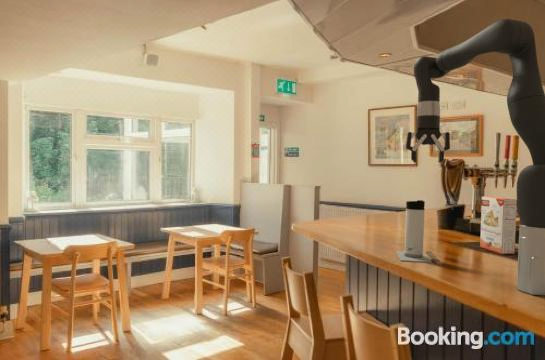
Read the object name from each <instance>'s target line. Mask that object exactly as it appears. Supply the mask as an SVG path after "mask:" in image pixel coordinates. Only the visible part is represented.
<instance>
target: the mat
mask: <svg viewBox="0 0 545 360" xmlns="http://www.w3.org/2000/svg"><path fill="white" fill-rule="evenodd" d="M395 253H396V255H397V256H398V259H399V260H400V262H412V263H424V264H425V263H427V264H432V263H433V262H432V261H433V260H432V259H430V258H429V257H428V256H427V255H428V254H427V253H426V252H423V257H421V258H412V257H407V256H405V255H404V250H401V251H399V250H398V251H397V250H396V252H395Z"/></svg>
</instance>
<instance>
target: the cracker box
mask: <svg viewBox="0 0 545 360" xmlns="http://www.w3.org/2000/svg"><path fill="white" fill-rule="evenodd" d="M480 213H481V214H480V240H479V242H480V244H479V247H480V248H482V249H485V250H488V251H491V252H494V253H497V254H500V255H515V254H516V234H517V232H516V230H517V229H516V228H517V198H514V199H513V198H508V197H507V198H506V197H500V196H491V195H490V196H489V195H485V196H481V212H480Z"/></svg>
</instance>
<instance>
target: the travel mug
mask: <svg viewBox="0 0 545 360" xmlns="http://www.w3.org/2000/svg"><path fill="white" fill-rule="evenodd" d="M425 203H426V202H425V201H424V200H421V199H420V200H419V199H417V200H413V201H412V200H411V201H410V200H407V201H406V204H405V223H404V224H405V227H404V250H403V252H404V255H405V256H407V257H412V258H421V257H423V253H424V236H425V235H424V233H425Z"/></svg>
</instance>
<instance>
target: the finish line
mask: <svg viewBox="0 0 545 360" xmlns="http://www.w3.org/2000/svg"><path fill="white" fill-rule="evenodd" d="M425 254H426V255H428V256H429V257H430V258H431V259H430V260H431V261H433V262H434V263H435V264H436V266H443V262H442V261H441V260H440V259H439V258H438V257H437V256H436V255H435V254H434V253H433V252H432V251H431V250H426V251H425Z"/></svg>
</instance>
